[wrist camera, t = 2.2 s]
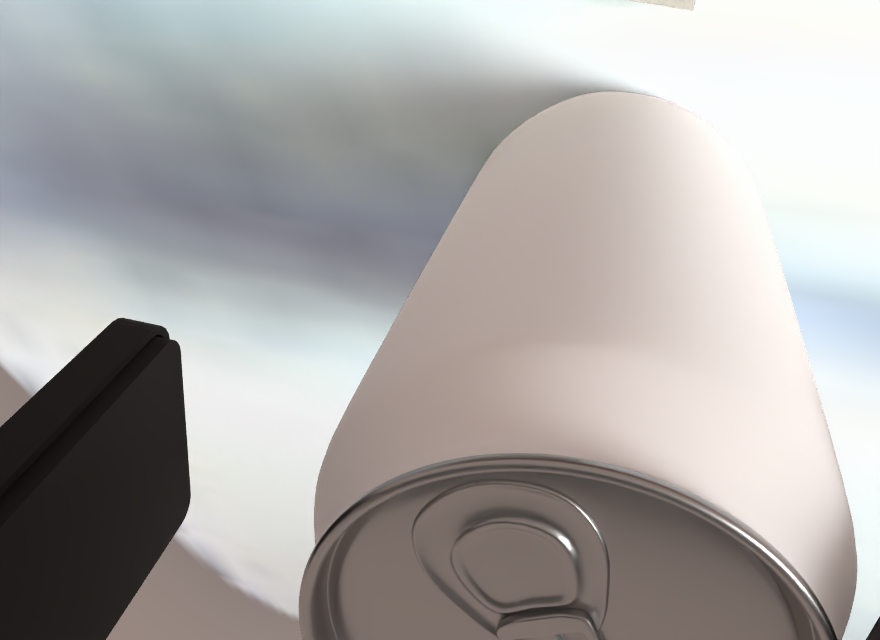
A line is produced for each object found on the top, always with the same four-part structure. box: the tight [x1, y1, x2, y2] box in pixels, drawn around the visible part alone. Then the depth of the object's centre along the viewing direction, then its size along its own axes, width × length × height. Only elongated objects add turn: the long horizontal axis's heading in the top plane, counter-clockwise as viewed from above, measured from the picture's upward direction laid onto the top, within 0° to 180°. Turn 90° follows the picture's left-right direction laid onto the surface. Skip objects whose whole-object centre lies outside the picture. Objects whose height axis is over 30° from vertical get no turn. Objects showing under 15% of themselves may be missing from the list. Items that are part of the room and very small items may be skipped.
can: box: [299, 92, 857, 640], centre depth 14 cm, size 6×6×12 cm
